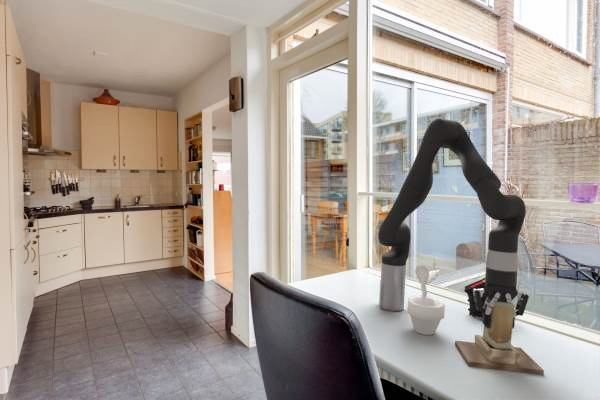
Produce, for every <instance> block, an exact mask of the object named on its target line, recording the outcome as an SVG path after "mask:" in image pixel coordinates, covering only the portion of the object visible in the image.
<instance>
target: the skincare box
mask: <svg viewBox="0 0 600 400" xmlns="http://www.w3.org/2000/svg"><path fill="white" fill-rule="evenodd" d="M488 302H489V303H490V300H489V299H488ZM515 308H516V305H515V304H514V303H513V304H509V303H506V302H496V303H495V306H494V308H492V310H491V312H490V328H486V327H485V326H484V325H483V331H482V335H483V339H484V340H486V341H487V342H488V343H489V344H491V345H492V346H493V347H495V348H497V349H510V345H512V337H513V336H512V335H513V328H512V327H513V317H514V310H515Z"/></svg>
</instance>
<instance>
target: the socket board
mask: <svg viewBox="0 0 600 400" xmlns="http://www.w3.org/2000/svg"><path fill="white" fill-rule="evenodd" d="M454 346H455V347H456V349H457V350H458V352H459V353H460V355H461V357H462V358H463V360H464V361H465V364H466V365H467V366H468V367H473V368H474V367H475V368H482V369H490V370H499V371H506V372H507V371H508V372H515V373H522V372H525V373H524V374H531V373H535V374H534V375H539V374H542V375H541V376H544V372H545V370H544V369H543V368H542V367H541V366H540V365H539V364H538V362H536V361H535V360H534V359H533V358H532V357H531V356H530V355H529V354H528V353H527V352H526V351H524V349H522V348H521V347H517V346H513V345H512V344H511V345H510V349H497V348H495V347H493V346H492V345H491V344H489V343H488V342H487V341H486V340H484V339H483V334H474V342H471V341H462V340H454Z"/></svg>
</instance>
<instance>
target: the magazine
mask: <svg viewBox="0 0 600 400" xmlns="http://www.w3.org/2000/svg"><path fill="white" fill-rule="evenodd" d="M484 286H485V277H484V278H481V279H479V280H476V281H474V282H472V283H470V284H468V285H465V286H464V289H463V291H464V293H466V294H467V298H468V299H467V302H468V304H469V307H468V308H467V311H468V312H469V313H468V315H469V316H471V315H472V316H473V317H472V316H471V317H472V318H482V317H483V313H482V312H480V311H478V310H477V309H476V307H475V301H474V296H473V291H472V290H473V288H476V289H482V288H483V287H484ZM486 299H487V296H486V294H485V293H483V296H482V297H481V301H482V306H483V307H484V305H485V301H486Z"/></svg>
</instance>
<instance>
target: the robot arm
mask: <svg viewBox="0 0 600 400" xmlns="http://www.w3.org/2000/svg"><path fill="white" fill-rule="evenodd" d="M464 127H465V126H463V124H462V123H461V122H459V121H457V120H453V119H448V118H439V117H438V118H434V119H432V121H431V122H430V123H429V124H428V125H427V127H426V129H425V132H424V134H423V135H422V140H421V142H420V145H419V149H418V150H417V153H416V155H415V158H414V160H413V162H412V165H411V167H410V169H409V172H408V174H407V176H406V178H405V179H404V182H403V184H402V186H401V189H400V191H399V192H398V194H397V197H396V198H395V201H394V203H393V205H392V206H391V208H390V210H389V212H388V214H387V215H386V217H385V218H384V219H383V222H382V223H381V225H380V227H379V229H378V236H377V237H378V241H379V243H380V244H381V246H384V247H391V248H390V249H389V250H388V251H387V252H385V253H384V254H382V257H381V267H380V268H381V270H380V280H379V294H378V295H379V297H378V298H379V299H378V305H379V306H378V307H379V309H383V310H385V311H386V310H387V311H391V312H400V311H403V310H405V294H406V293H405V292H406V291H405V290H406V274H407V273H406V272H407V261H408V259H409V254H410V248H411V247H410V246H411V229H410V228H409V225H408V224H407V223H405V222H404V221H405V220H406V218H407V217H409V216H410V215H411V214H412V213H414V211H416V210H417V209H418V208H419V207H421V205H423V203H425V201H426V199H427V198H428V196H429V193H430V191H431V189H432V188H433V187H432V186H433V183H434V173H433V165H434V161H435V158H436V157H437V155H438V153H439V150H440V149H449V150H450V151H451V152H452V153H454V154H455V155H456V157H458V160H459V161H460V164H461V171H462V173H463V174H462V175H463V176H464V178H465V179H466V181H467V182H468V185H470V187H471V188H472V190H474V192H475V193H476V195H477V198H478V201H479V203H480V206H481V208H482V211H483V212H484V213H485V214H486V216H488V217H489V218H490V219H492V220H494V221H495V220H496V221H498V224H497V226H496V227H495V228H492V229H490V231H489V233H488V245H487V254H486V259H485V260H486V261H485V277H484V278H485V286H484V287H483V288H482V289H476V288H473V290H472V291H473V296H474V301H475V307H476V309H477V310H478V311H480V312H482V313H483V317H481V322H482V325H483V327H484V326H485V327H486V328H490V312H491V310H492V308H494V306H495V303H496V302H506V303H509V304H513V305H514V303H513V300H514V299H515V298H516V299H517V302H516V305H515V308H514V317H513V327H512V329H514V328H515V324H516V321H515V320H516V317H518V316H523V315H524V314H525V310H526V309H527V308H526V307H527V304H528V301H529V295H528V294H527V293H525V292H523V291H521V292H520V291H518V289H517V285H518V284H517V283H518V266H519V265H518V264H519V257H518V247H519V235H520V233H521V230H522V227H523V225H524V221H525V218H526V215H527V214H526V212H527V208H526V203H525V202H524V199H522V198H521V197H520V196H519V195H515V194H504V193H502V191H501V190H500V189H501V187H502V182H501V179H500V178H499V177H498V176H497V174H496V173H495V172H494V171H493V170H492V169H491V167H490V166H489V165H488V164H487V163H486V161H485V160H484V158H483V157H482V156H481V154H480V153H479V151H478V150H477V148H476V146H475V145H474V143H473V141H472V139H471V138H470V136H469V134H468V132H467V131H466V129H465V128H464ZM483 293H485V294H486V296H487V299H486V301H485V305H484V307H483V306H482V301H481V297H482V296H483ZM488 299H489V300H490V303H489V302H488Z"/></svg>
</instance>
